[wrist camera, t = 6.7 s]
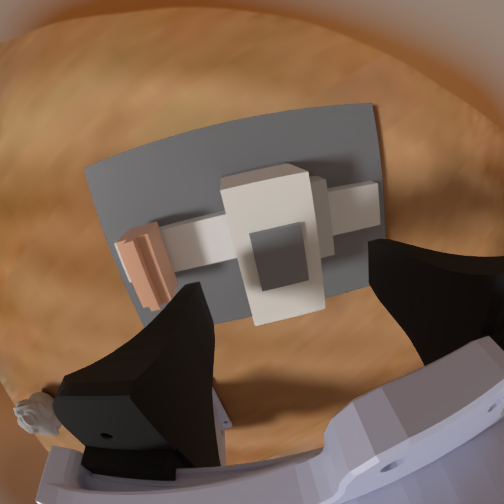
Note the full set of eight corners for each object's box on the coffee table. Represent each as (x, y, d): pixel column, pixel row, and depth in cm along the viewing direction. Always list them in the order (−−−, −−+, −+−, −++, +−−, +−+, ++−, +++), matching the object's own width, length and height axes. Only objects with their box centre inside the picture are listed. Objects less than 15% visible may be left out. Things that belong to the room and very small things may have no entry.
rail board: (378, 274, 23) (395, 291, 20) (151, 327, 22) (144, 350, 20) (364, 104, 17) (385, 101, 14) (90, 166, 17) (71, 171, 14)
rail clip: (177, 282, 18) (171, 307, 16) (151, 288, 18) (140, 313, 16) (156, 221, 17) (144, 237, 14) (128, 229, 17) (112, 246, 14)
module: (301, 265, 20) (327, 311, 15) (247, 278, 20) (255, 329, 15) (283, 161, 17) (310, 172, 12) (221, 174, 17) (219, 191, 12)
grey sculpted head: (37, 373, 24) (16, 413, 18) (77, 407, 27) (63, 448, 20) (22, 383, 25) (3, 418, 19) (58, 414, 28) (44, 450, 21)
